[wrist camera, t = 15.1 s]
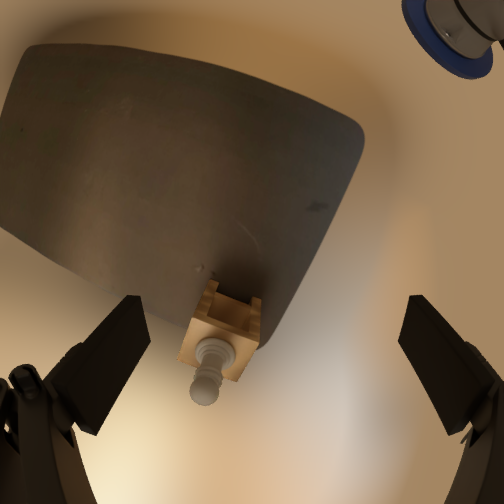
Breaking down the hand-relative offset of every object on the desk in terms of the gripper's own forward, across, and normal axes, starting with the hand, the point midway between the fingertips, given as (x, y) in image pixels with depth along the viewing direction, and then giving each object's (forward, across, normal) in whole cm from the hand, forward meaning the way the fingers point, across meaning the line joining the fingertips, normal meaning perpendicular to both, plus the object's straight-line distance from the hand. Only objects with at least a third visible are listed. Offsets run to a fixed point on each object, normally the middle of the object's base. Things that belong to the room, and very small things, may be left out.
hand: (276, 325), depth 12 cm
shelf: (+29, -8, -16) cm, 34 cm away
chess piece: (+18, -7, -16) cm, 25 cm away
